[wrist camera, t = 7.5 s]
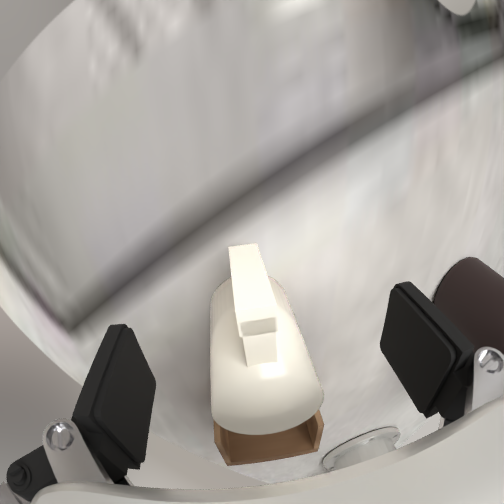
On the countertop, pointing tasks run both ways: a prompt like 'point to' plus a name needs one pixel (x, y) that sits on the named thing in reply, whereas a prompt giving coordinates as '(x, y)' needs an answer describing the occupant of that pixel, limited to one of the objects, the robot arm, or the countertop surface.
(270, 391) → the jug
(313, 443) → the caddy
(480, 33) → the countertop surface
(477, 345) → the bottle
